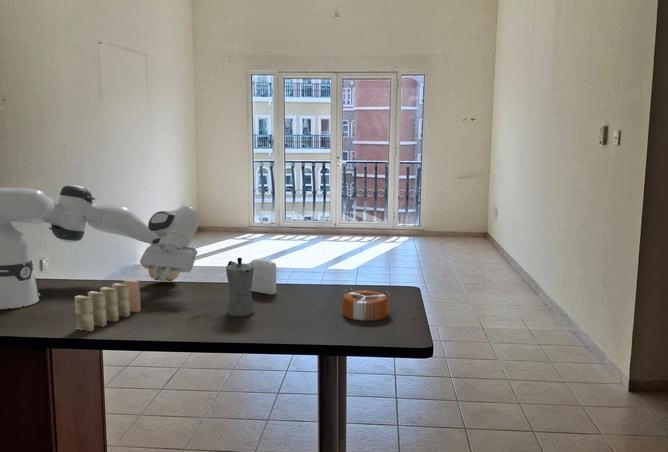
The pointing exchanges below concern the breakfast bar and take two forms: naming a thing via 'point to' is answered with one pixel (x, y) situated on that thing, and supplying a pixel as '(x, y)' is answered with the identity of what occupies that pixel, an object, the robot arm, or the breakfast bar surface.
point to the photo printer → (264, 276)
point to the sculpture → (169, 278)
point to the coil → (365, 305)
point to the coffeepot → (240, 288)
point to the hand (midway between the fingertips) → (158, 279)
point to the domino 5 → (134, 295)
